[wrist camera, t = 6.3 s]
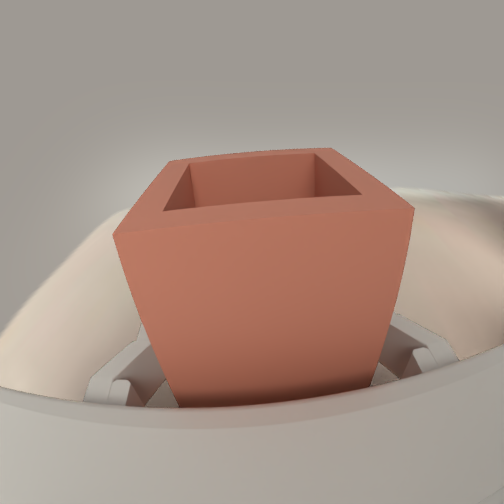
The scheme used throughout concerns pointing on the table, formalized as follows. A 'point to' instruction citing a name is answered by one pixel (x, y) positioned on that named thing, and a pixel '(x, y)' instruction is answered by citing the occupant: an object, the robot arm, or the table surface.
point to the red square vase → (265, 274)
